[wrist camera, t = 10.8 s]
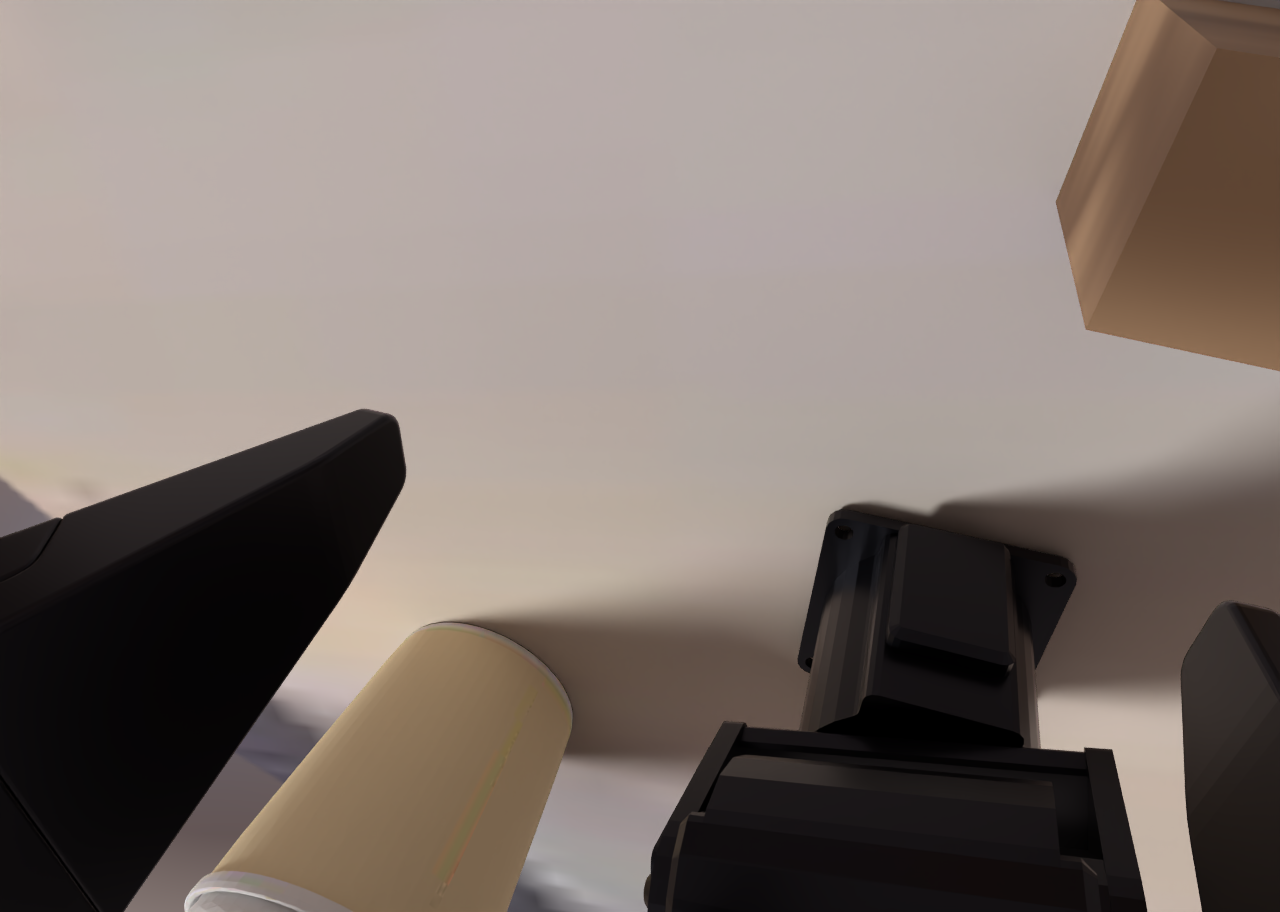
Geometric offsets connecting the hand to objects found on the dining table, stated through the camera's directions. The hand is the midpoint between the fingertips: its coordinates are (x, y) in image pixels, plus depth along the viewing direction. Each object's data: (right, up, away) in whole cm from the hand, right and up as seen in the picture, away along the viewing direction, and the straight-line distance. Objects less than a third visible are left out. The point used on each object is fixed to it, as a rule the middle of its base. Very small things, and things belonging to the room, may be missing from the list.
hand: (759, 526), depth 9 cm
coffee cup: (-8, -9, +25) cm, 28 cm away
